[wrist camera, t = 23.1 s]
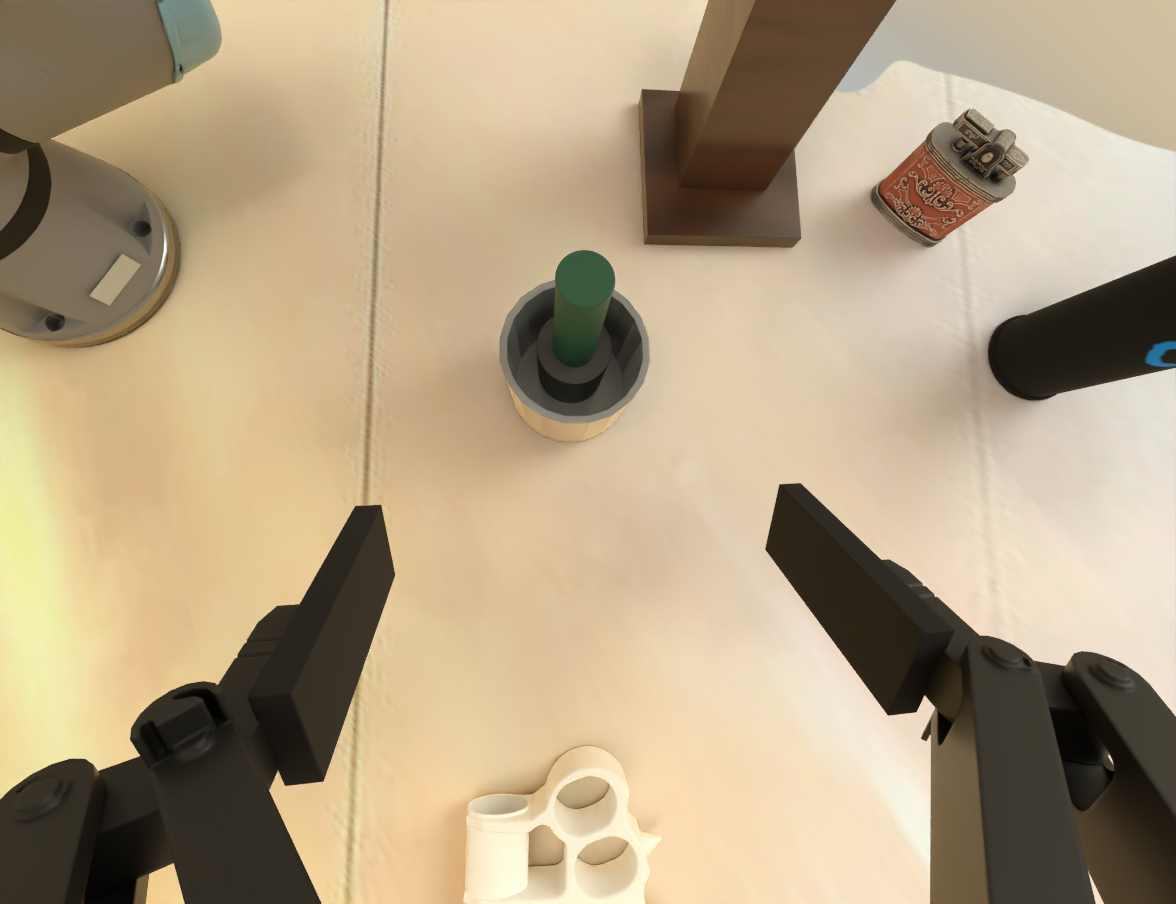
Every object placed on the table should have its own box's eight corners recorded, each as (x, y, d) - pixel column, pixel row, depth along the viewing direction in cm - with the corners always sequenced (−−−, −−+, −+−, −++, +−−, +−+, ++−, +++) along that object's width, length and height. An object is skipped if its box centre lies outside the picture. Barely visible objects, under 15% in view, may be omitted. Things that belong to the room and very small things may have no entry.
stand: (793, 252, 45) (1343, -318, 14) (644, 249, 43) (879, -382, 13) (782, 104, 46) (1251, -702, 15) (638, 97, 45) (834, -790, 14)
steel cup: (487, 397, 41) (469, 365, 31) (555, 307, 42) (557, 249, 33) (584, 465, 41) (594, 453, 31) (648, 372, 42) (677, 333, 33)
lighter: (947, 230, 46) (1056, 154, 36) (928, 254, 46) (1033, 185, 36) (883, 176, 46) (974, 86, 36) (863, 200, 46) (950, 115, 36)
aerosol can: (975, 327, 45) (1307, 189, 25) (1049, 307, 46) (1426, 157, 26) (1005, 411, 45) (1372, 335, 25) (1081, 388, 45) (1491, 297, 26)
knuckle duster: (472, 748, 38) (657, 742, 39) (464, 1007, 36) (659, 992, 37) (465, 772, 34) (667, 764, 35) (455, 1058, 32) (670, 1041, 33)
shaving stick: (641, 330, 24) (636, 228, 25) (531, 330, 23) (530, 226, 24) (602, 403, 41) (601, 341, 41) (538, 403, 40) (537, 341, 41)
